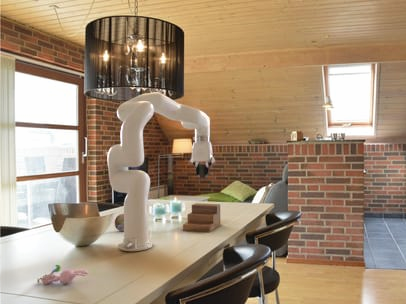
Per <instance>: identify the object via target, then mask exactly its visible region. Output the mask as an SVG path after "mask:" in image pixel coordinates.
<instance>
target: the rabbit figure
mask: <svg viewBox="0 0 406 304" xmlns="http://www.w3.org/2000/svg"><path fill="white" fill-rule="evenodd" d="M54 266H55V267H56V268H54V269H52V271H51V272H50V273H49V274H45V275H42V277H39V278H38V277H37V278H36V279H37V285H40V281H41V283H42V284H44V285H48V284H51V283H56V282H59V283H60V284H63V285H65V284H68V283H70V282H72V281H73V280H74V279H75V278H76V276H83V277H86V276H87V275H89V272H88V271H87V270H85V269H78V270H73V269H65V270H63V271H62V272H61V273H59V272H60V271H61V269H62V266H61V265H60V264H55V265H54ZM55 273H59V275H56V274H55Z"/></svg>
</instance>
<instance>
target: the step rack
mask: <svg viewBox="0 0 406 304" xmlns="http://www.w3.org/2000/svg"><path fill="white" fill-rule="evenodd" d="M186 217H187V218H186V221H187V222H185V223H183V224H182V231H185V232H199V233H200V232H202V233H210V232H212V231H213V230H215V229H217V228H218V227H220V226H221V224H222V223H221V204H220V203H202V202H201V203H200V202H199V203H198V202H197V203H193V204H191V212H189V213H187V216H186Z"/></svg>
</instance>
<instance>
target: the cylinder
mask: <svg viewBox="0 0 406 304" xmlns="http://www.w3.org/2000/svg"><path fill="white" fill-rule="evenodd" d="M205 167H206V163H200V164H199V175H198V178H199V179H207V177H208V175H205Z"/></svg>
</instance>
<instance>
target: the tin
mask: <svg viewBox="0 0 406 304" xmlns="http://www.w3.org/2000/svg"><path fill="white" fill-rule="evenodd" d="M114 227H115V229H116V230H118V231H121V232H124V213H121V214H118V215H117V216H116V217H115V218H114Z"/></svg>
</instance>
